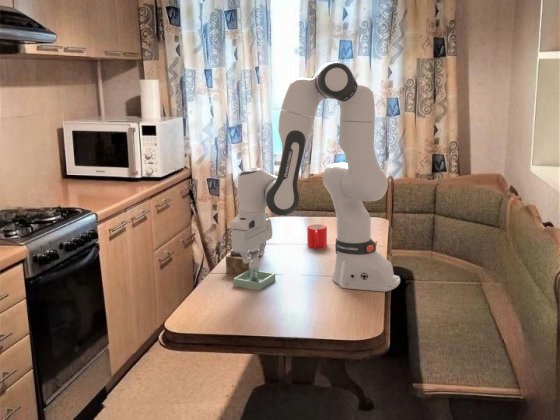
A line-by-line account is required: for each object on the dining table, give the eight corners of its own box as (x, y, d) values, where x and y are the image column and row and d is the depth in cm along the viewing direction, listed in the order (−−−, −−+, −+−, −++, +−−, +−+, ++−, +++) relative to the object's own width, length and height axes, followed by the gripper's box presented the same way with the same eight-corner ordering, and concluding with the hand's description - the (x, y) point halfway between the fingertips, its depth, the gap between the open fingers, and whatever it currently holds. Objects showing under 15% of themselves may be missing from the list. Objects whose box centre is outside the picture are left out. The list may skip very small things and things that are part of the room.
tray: (275, 280, 196) (275, 273, 195) (260, 290, 187) (259, 283, 187) (249, 276, 201) (249, 269, 200) (233, 285, 192) (233, 278, 191)
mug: (307, 251, 227) (306, 232, 225) (307, 242, 239) (307, 224, 237) (327, 251, 226) (327, 232, 225) (326, 242, 238) (326, 224, 236)
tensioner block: (258, 270, 206) (257, 249, 205) (248, 276, 200) (247, 254, 199) (237, 266, 211) (236, 246, 209) (226, 272, 205) (225, 251, 203)
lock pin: (260, 280, 194) (259, 250, 192) (256, 283, 192) (254, 253, 189) (252, 279, 196) (251, 249, 194) (247, 282, 193) (246, 252, 191)
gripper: (260, 210, 199) (261, 249, 202) (227, 224, 182) (229, 266, 185) (276, 212, 196) (277, 251, 199) (244, 226, 179) (246, 269, 182)
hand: (253, 258), depth 192 cm, fingers open, 8 cm apart
